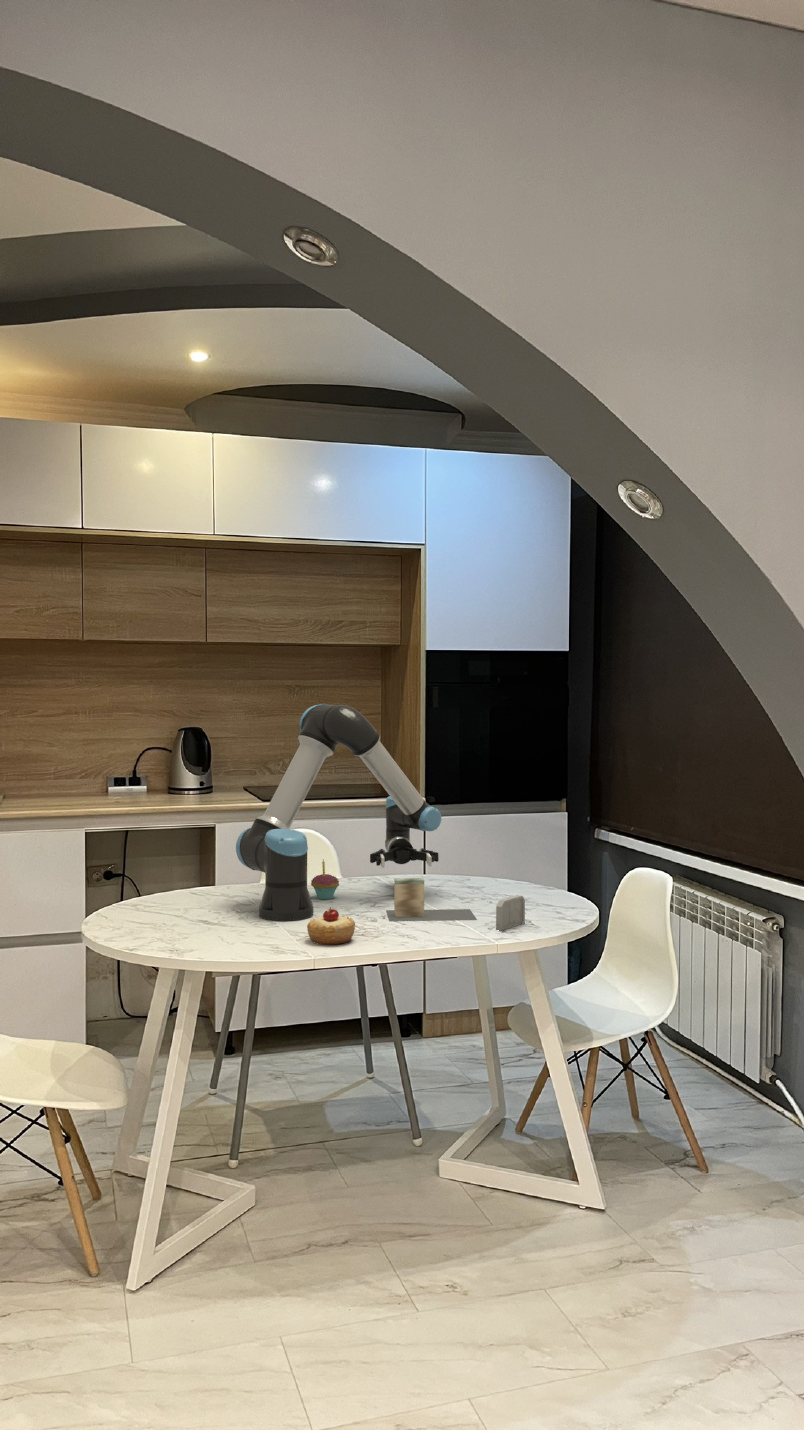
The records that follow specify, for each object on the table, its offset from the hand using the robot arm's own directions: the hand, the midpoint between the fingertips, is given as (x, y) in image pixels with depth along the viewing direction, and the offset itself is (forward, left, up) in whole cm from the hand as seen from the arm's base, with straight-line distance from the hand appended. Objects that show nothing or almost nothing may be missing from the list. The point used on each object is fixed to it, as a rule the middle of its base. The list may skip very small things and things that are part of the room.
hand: (406, 862), depth 303 cm
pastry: (-22, -36, -14) cm, 45 cm away
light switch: (+26, -24, -14) cm, 38 cm away
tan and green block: (0, -11, -13) cm, 17 cm away
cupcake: (-23, +18, -14) cm, 32 cm away
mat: (+6, -11, -13) cm, 18 cm away
